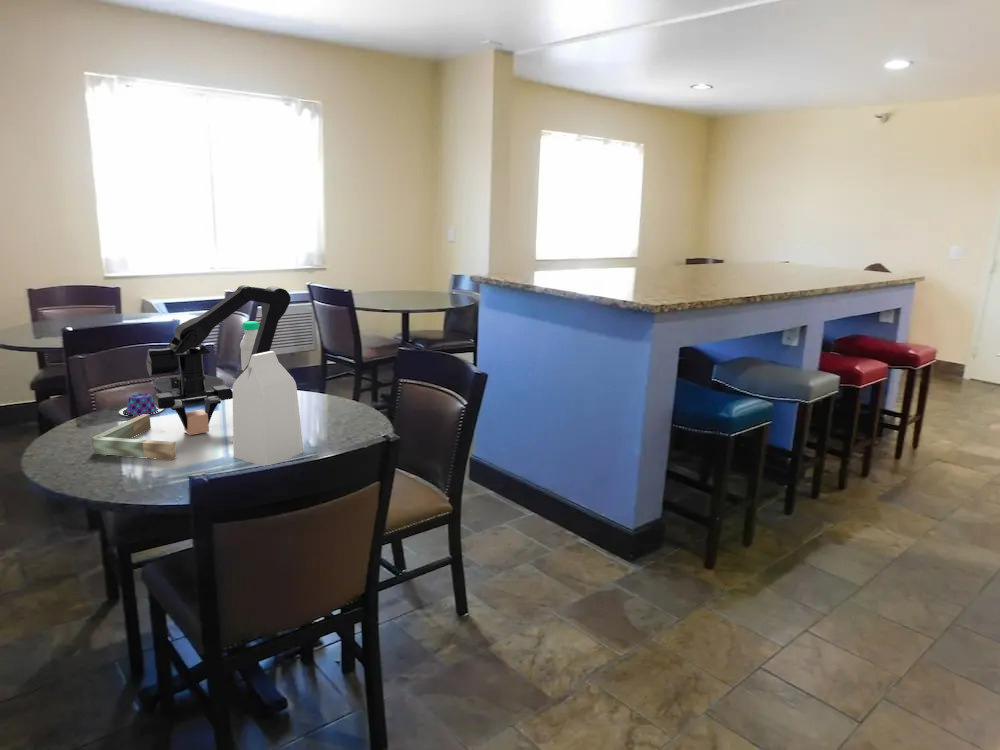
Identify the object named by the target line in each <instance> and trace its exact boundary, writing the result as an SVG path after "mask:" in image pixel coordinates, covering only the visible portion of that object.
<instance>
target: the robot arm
mask: <svg viewBox="0 0 1000 750" xmlns="http://www.w3.org/2000/svg"><path fill="white" fill-rule="evenodd" d="M291 300H292V299H291V295H290V293H289V291H287V290H286V289H284V288H283V287H278V286H273V285H272V286H268V287H266V288H264V287H263V288H262V287H256V286H249V285H245V284H242V285H240V286H238V287H237V288H236V290H234V291H232V293H230V294H229V295H227V296H226V297H225V298H223V299H222V300H220V301H219V302H218V303H216V304H215V305H213V307H211V308H209V309H208V310H206V312H204V313H202V314H201V315H198V316H197V317H193V318H190V319H188V320H186V321H185V322H182V323H180V324H179V325H177V326H176V328H175V329H174V336H173V338H172V339H171V341H170V343H169V344H168V345H167V346H166V348H158V349H155V348H149V349H147V354H146V355H147V356H146V360H145V362H146V363H145V364H146V370H147V373H148V375H149V377H154V376H162V375H171V374H172V375H174V374H175V372H177V371H178V370H179V373H180V374H179V375H180V380H178V379H177V377H172V378H169V386H170V389H171V390H173V389H177V390H178V393H182V395H174V396H173V395H172V394H171V393H170V392H169V393H161V394H160V393H156V394H155V395H154V396H153V401H154V405H155V406H156V407H157V408H158V409H163V410H165V409H171V410H172V411H175V412H176V413H177V415H178V417H179V419H180V421H181V423H182V425H183V426H182V427H183V429H184V428H185V429H187V419H186V413H185V412H186V408H185V406H184V405H183V401H189V402H191V401H190V400H192V401H198V400H197V399H199V400H203V401H204V411H205V412H206V413H207V414H208V423H209V424H210V421H211V419H212V416H213V413H214V411H215V409H216V408H217V406H218V405H219V404H222V402H221V401H226V400H233V389H231V388H230V387H228V386H227V385H226V384H225V385H221V386H214V387H212V390H211V391H205V382H204V380H205V376H204V375H205V372H204V371H205V370H204V360H203V359H204V358H203V355H209V354H211V350H209V349H208V348H207V347H206V346H205V344H202V343H203V342H204V341H205V340H206V339H207V338H208V337H209V335H210V334H211V332H212V331H213V330H214V329H215V327H217V326H218V325H219V324H220V323H222V322H224V321H225V320H226V319H227V318H229V317H230V316H231V315H232V314H234V313H235V312H237V311H238V310H239V309H241V308H242V307H243V306H245V305H246V304H247V303H249V302H256V303H261V304H260V307H261V319H260V322H259V329H258V332H257V336H256V339H255V343H254V346H253V350H252V353H251V356H252V355H254V354H259V353H263V352H268V351H271V349H272V344H273V341H274V339H275V334H276V330H277V327H278V324H279V321H280V319H282V317H283V316H284V315H285V313H286V312H287V309H288V308H289V306H290V304H291ZM251 356H250V359H251ZM249 362H250V360H249ZM248 365H249V363H248ZM248 365H247V366H246V368H245V369H244V370H242V368H238V371H237V377H236V379H237V378H238V377H239V376H240V375H241V374H242V373H243V372H244V371H245V370H246V369H247V368H248ZM236 379H235V380H234V382H235V381H236ZM199 395H202V396H199ZM186 397H188V398H186Z"/></svg>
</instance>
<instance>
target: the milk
mask: <svg viewBox="0 0 1000 750" xmlns="http://www.w3.org/2000/svg"><path fill="white" fill-rule="evenodd" d="M237 377H238V376H237ZM237 377H236V379H235V380H236V381H235V380H234V383H233V384H232V392H233V398H232V438H233V439H232V441H233V442H232V443H233V447H232V448H233V449H232V450H233V458H234V459H238V460H241V461H244V462H248V463H251V464H255V465H258V466H261V467H265V466H264V465H270V464H273V465H275V464H278V463H280V462H283V461H285V460H288V459H291V458H294V457H295V456H298V455H301V454H303V453H304V444H303V443H304V442H303V433H302V427H301V425H302V424H301V417H300V416H301V415H300V406H299V399H298V398H299V396H298V388H297V383H296V380H295V379H294V377H293V376H292V375H291V374H290V373H289V372H288V370H287V369H286V368H285V367H284V366H283V365H282V363H280V362H279V359H278V357H277V354H276V351H273V350H270V351H268V352H263V353H259V354H254V355H252V356H251V359H250V362H249V365H248V368H247V369H246V370H245V371H244V372H243V373H242V374H241V375H240V376H239V377H238V378H237ZM270 466H271V465H270Z"/></svg>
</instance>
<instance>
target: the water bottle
mask: <svg viewBox="0 0 1000 750" xmlns="http://www.w3.org/2000/svg"><path fill="white" fill-rule="evenodd" d="M259 325H260V322H258V321H252V320H251V321H250V320H249V321H244V322H242V330H243V331H244V335H243V336H242V339H241V341H240V344H239V349H240V364H241V369H242V370H244V369H245V368H246V366H247V365H248V363H249V360H250V356H251V353H252V350H253V346H254V343H255V339H256V336H257V332H258V329H259Z"/></svg>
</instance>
